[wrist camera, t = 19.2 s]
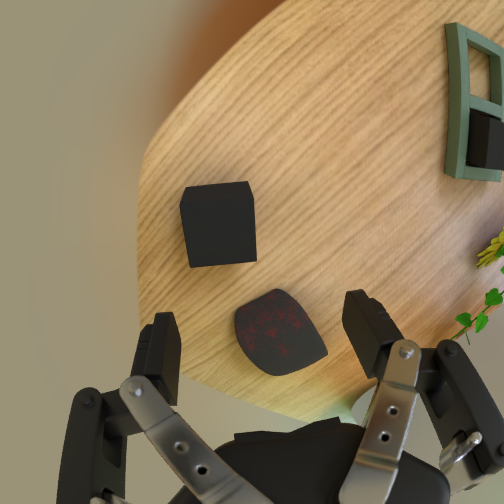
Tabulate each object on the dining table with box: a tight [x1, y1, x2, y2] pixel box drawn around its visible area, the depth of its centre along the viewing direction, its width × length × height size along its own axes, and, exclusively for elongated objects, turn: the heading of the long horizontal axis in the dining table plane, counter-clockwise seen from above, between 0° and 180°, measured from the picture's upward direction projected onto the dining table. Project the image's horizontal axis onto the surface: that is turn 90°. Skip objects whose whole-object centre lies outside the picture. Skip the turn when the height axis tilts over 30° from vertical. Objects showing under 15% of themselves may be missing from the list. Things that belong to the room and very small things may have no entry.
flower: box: [450, 226, 504, 345], centre depth 33 cm, size 12×9×30 cm
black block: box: [180, 181, 257, 268], centre depth 24 cm, size 5×5×4 cm
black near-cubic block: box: [466, 113, 504, 171], centre depth 22 cm, size 5×5×4 cm
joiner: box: [444, 22, 504, 182], centre depth 21 cm, size 10×18×2 cm, turn 3°
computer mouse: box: [235, 289, 328, 376], centre depth 32 cm, size 8×14×4 cm, turn 30°
